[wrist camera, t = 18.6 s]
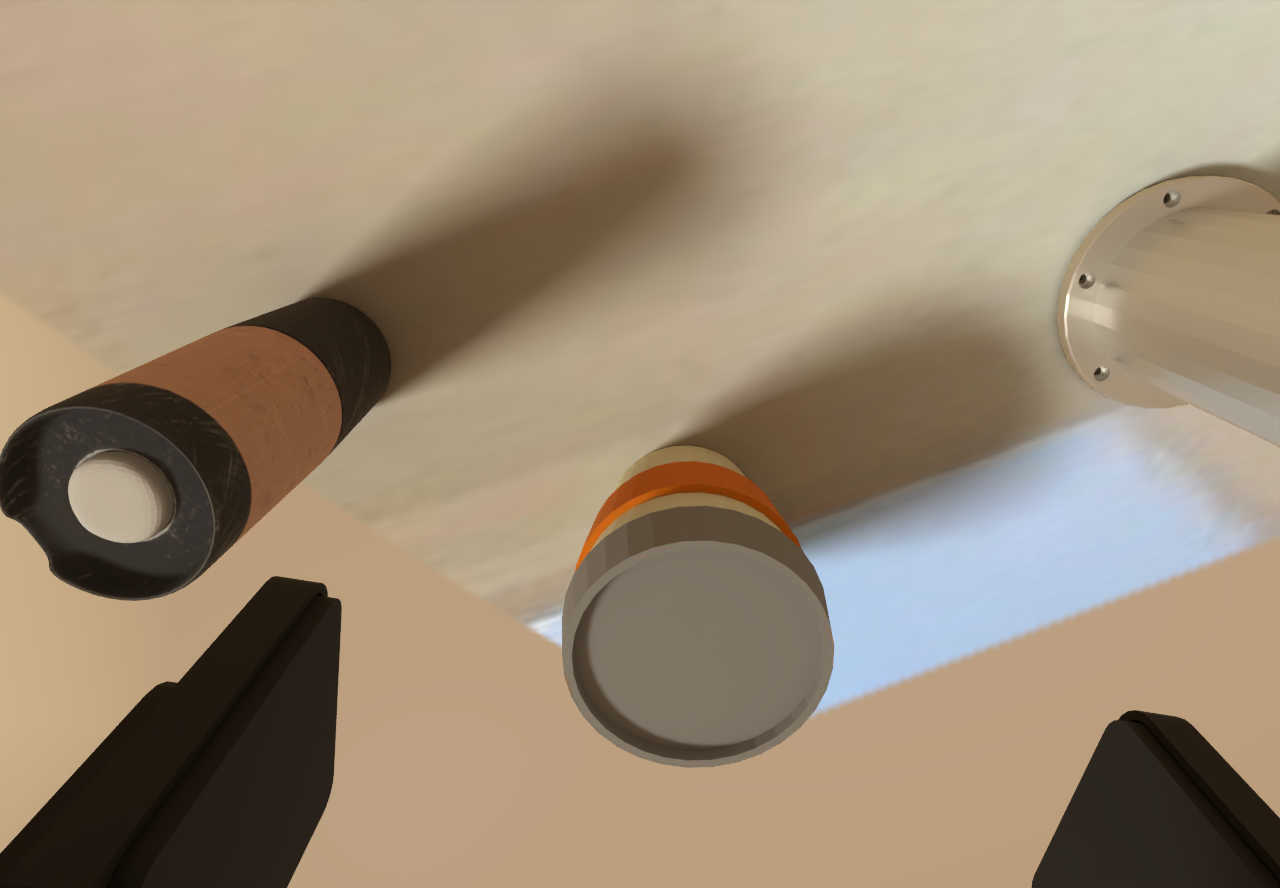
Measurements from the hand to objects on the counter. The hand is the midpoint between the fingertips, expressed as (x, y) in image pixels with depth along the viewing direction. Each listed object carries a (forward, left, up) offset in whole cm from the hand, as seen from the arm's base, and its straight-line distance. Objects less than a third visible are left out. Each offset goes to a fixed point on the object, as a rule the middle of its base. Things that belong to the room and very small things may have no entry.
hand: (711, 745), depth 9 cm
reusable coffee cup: (-4, +14, -36) cm, 39 cm away
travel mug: (+18, +8, -36) cm, 41 cm away
